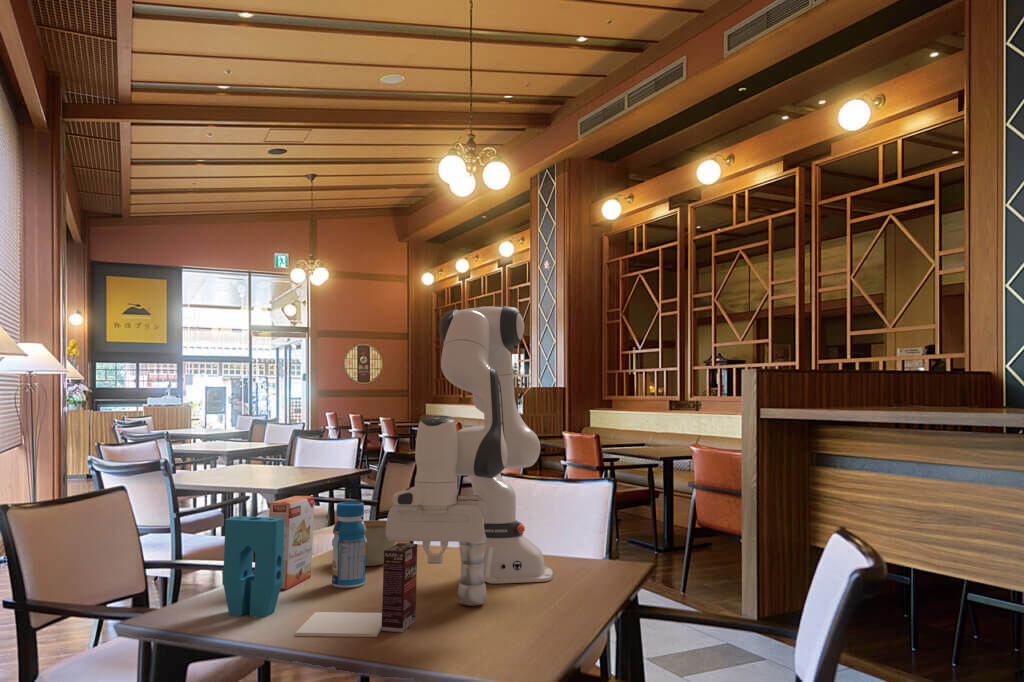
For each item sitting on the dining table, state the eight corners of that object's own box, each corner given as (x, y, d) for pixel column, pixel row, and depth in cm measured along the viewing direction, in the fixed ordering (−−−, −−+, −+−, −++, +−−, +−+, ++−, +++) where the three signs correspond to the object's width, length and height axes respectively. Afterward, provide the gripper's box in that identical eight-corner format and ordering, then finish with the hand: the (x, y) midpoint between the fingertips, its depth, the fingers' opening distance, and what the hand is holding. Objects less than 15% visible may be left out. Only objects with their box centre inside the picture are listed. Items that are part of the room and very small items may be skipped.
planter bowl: (408, 560, 211) (408, 521, 212) (375, 572, 196) (376, 530, 197) (361, 555, 217) (362, 517, 218) (327, 566, 203) (328, 526, 204)
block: (283, 611, 159) (286, 518, 161) (271, 618, 155) (274, 521, 156) (233, 608, 162) (236, 516, 163) (220, 614, 157) (223, 519, 158)
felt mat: (389, 615, 157) (389, 612, 157) (377, 636, 143) (377, 633, 143) (315, 615, 157) (315, 612, 157) (295, 636, 143) (295, 632, 143)
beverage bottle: (349, 590, 177) (351, 506, 179) (323, 586, 181) (325, 503, 183) (372, 583, 184) (374, 502, 186) (347, 578, 189) (349, 500, 190)
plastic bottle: (465, 610, 161) (466, 518, 163) (453, 602, 167) (454, 513, 169) (491, 606, 164) (492, 516, 166) (478, 599, 170) (479, 511, 172)
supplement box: (403, 633, 145) (405, 551, 146) (380, 631, 146) (382, 550, 147) (417, 620, 154) (418, 543, 155) (395, 619, 154) (396, 542, 156)
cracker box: (287, 590, 177) (290, 502, 178) (264, 589, 178) (267, 502, 179) (313, 577, 190) (315, 495, 192) (291, 575, 191) (294, 494, 193)
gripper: (487, 493, 155) (486, 560, 154) (390, 492, 155) (389, 559, 154) (485, 497, 148) (484, 567, 147) (384, 496, 149) (383, 566, 148)
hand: (435, 563), depth 151 cm, fingers closed
